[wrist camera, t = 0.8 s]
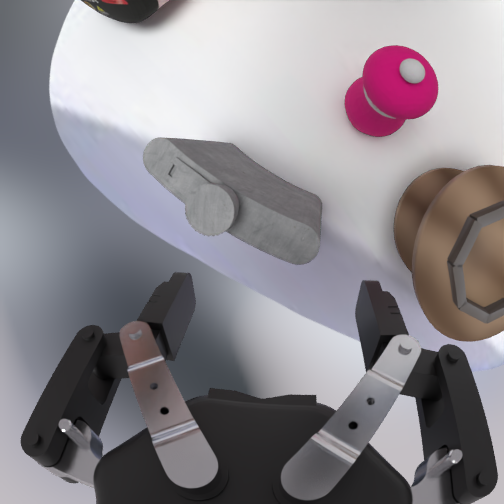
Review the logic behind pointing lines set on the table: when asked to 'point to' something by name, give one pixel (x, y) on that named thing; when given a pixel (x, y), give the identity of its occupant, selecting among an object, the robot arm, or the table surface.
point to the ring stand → (456, 248)
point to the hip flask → (237, 197)
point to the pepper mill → (391, 91)
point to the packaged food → (126, 8)
